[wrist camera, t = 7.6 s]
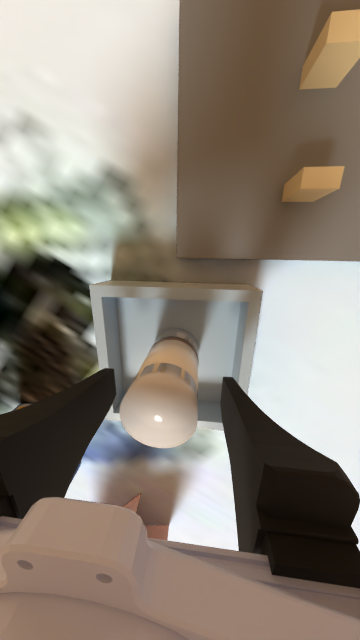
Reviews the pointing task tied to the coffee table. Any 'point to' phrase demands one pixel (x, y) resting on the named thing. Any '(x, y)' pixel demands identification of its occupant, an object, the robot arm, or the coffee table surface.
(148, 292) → the parts tray
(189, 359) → the led light bulb
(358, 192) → the flat gray square panel
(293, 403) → the coffee table surface
